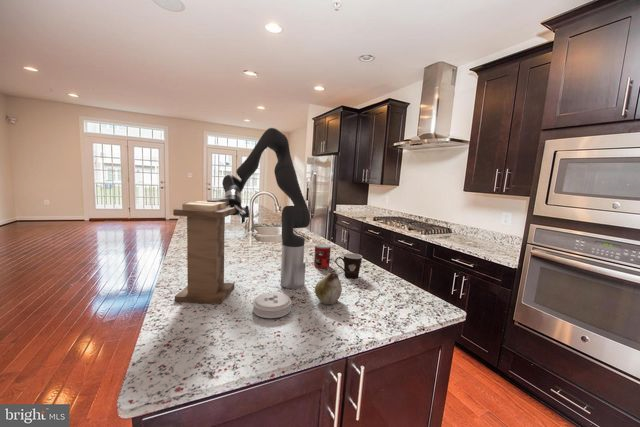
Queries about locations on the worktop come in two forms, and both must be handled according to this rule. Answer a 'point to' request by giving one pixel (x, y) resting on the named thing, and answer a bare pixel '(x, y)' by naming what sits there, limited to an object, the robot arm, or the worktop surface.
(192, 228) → the tall stand
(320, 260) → the canned food
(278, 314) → the lid
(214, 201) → the wooden board
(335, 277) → the fruit
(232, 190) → the robot arm
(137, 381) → the worktop surface
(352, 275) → the coffee mug
